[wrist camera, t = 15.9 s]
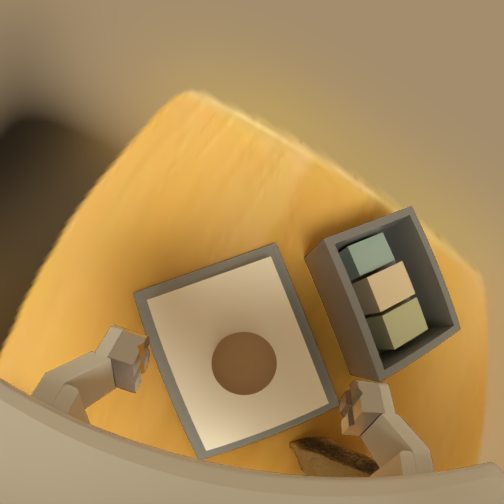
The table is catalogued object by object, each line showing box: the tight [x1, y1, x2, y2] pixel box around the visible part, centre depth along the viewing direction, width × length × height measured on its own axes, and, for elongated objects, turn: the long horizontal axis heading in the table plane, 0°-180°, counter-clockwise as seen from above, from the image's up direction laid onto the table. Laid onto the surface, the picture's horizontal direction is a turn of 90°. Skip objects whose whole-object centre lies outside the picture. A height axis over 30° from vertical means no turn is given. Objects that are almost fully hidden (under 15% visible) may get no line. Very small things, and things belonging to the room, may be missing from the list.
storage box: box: [304, 206, 461, 382], centre depth 31 cm, size 14×11×7 cm
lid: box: [147, 256, 329, 451], centre depth 26 cm, size 16×13×11 cm
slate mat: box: [133, 243, 340, 460], centre depth 31 cm, size 19×16×1 cm
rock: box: [290, 437, 380, 477], centre depth 25 cm, size 11×9×10 cm
